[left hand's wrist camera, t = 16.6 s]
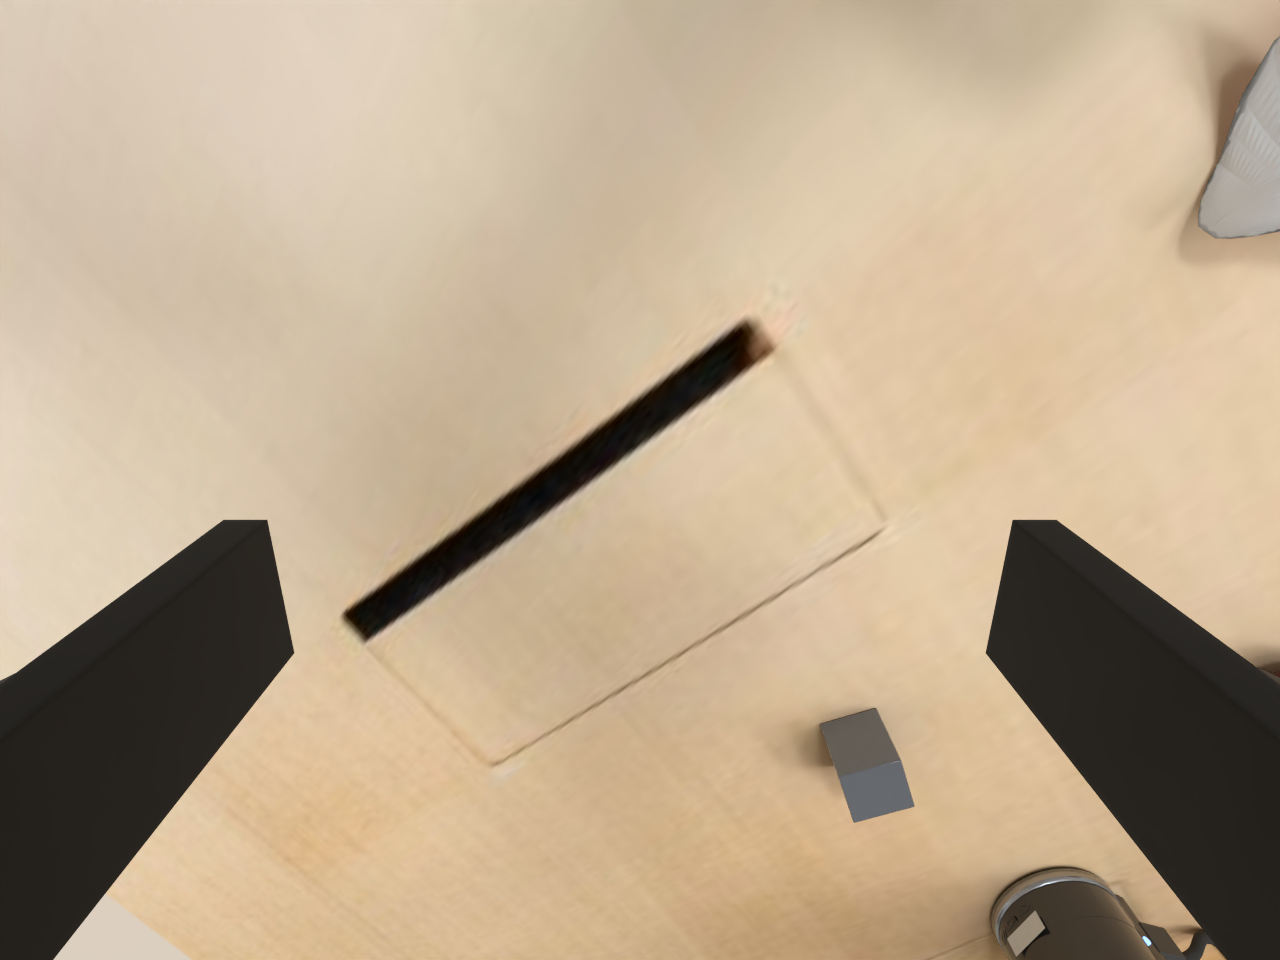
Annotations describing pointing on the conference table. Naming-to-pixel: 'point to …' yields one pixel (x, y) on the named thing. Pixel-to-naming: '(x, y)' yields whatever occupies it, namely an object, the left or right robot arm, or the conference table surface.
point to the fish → (1249, 162)
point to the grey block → (867, 765)
